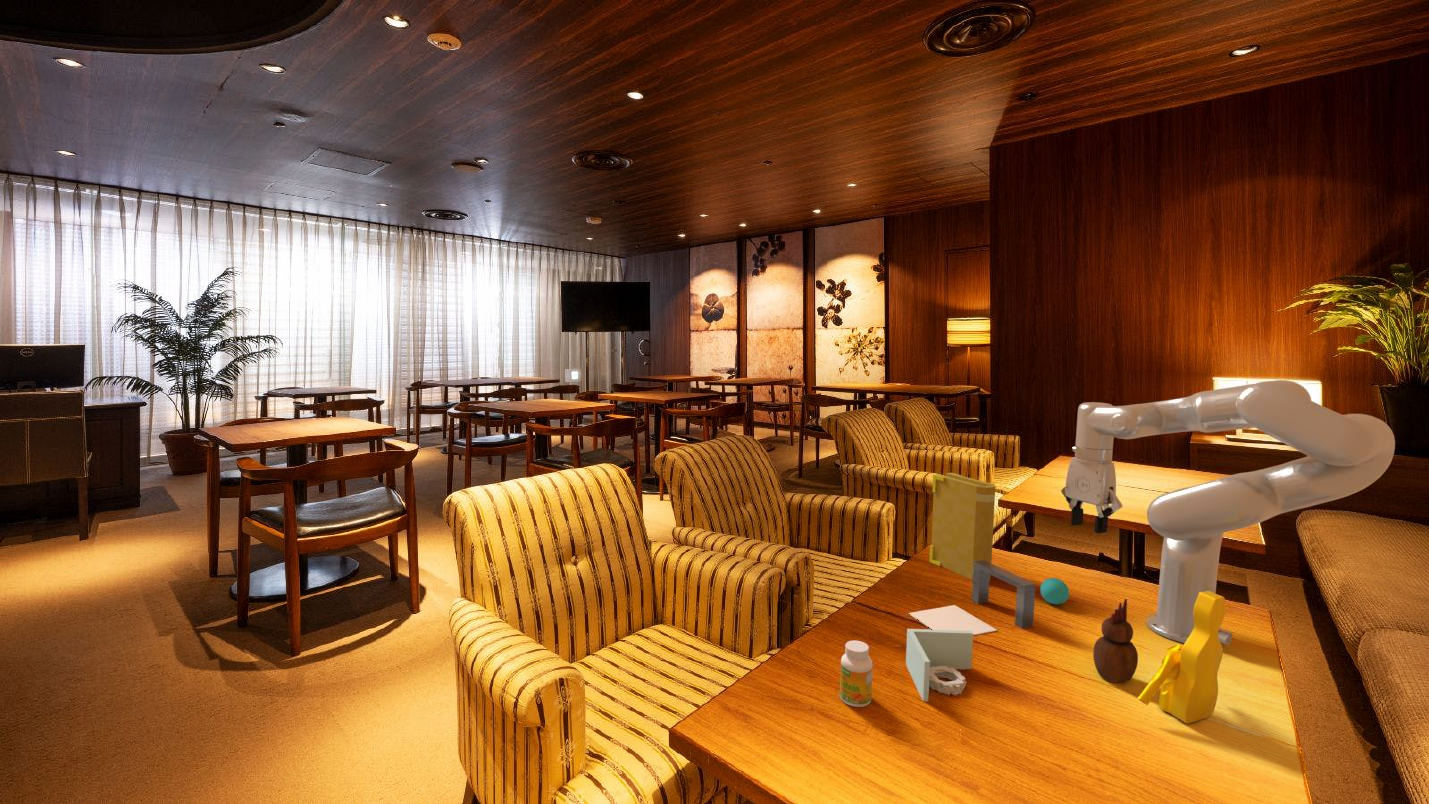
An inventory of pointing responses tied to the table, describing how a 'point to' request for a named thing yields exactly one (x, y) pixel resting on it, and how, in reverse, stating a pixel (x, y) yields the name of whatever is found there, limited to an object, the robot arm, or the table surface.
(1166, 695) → the figure statuette
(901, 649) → the table surface
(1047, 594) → the ball
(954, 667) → the l-shaped corner panel
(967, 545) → the book
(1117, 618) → the wooden figurine
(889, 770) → the table surface
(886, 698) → the table surface
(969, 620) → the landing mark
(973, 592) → the bridge
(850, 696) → the supplement bottle
